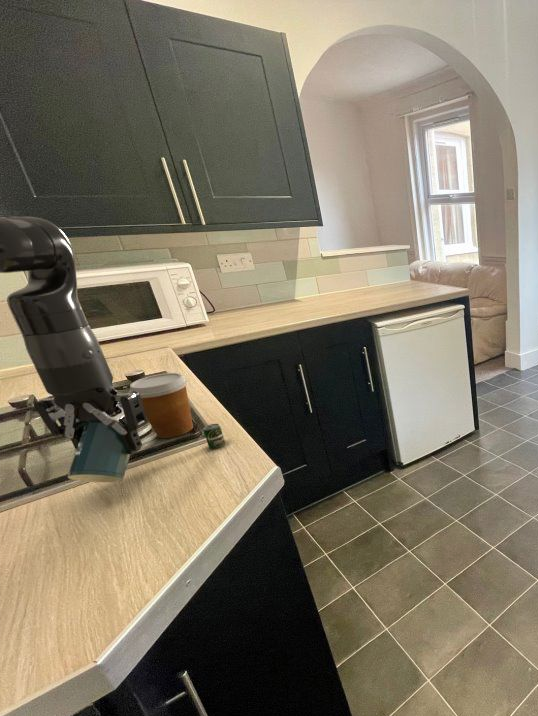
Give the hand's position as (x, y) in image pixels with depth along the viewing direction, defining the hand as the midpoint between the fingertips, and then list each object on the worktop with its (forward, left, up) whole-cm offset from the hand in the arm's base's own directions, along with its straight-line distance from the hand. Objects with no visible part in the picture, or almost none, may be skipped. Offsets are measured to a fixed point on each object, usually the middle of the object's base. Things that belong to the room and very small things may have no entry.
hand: (112, 453), depth 70 cm
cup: (0, -4, -2) cm, 5 cm away
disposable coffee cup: (-5, +21, -7) cm, 23 cm away
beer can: (+8, +13, -7) cm, 17 cm away
